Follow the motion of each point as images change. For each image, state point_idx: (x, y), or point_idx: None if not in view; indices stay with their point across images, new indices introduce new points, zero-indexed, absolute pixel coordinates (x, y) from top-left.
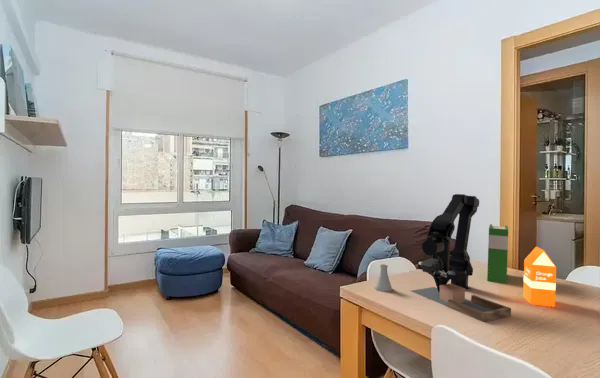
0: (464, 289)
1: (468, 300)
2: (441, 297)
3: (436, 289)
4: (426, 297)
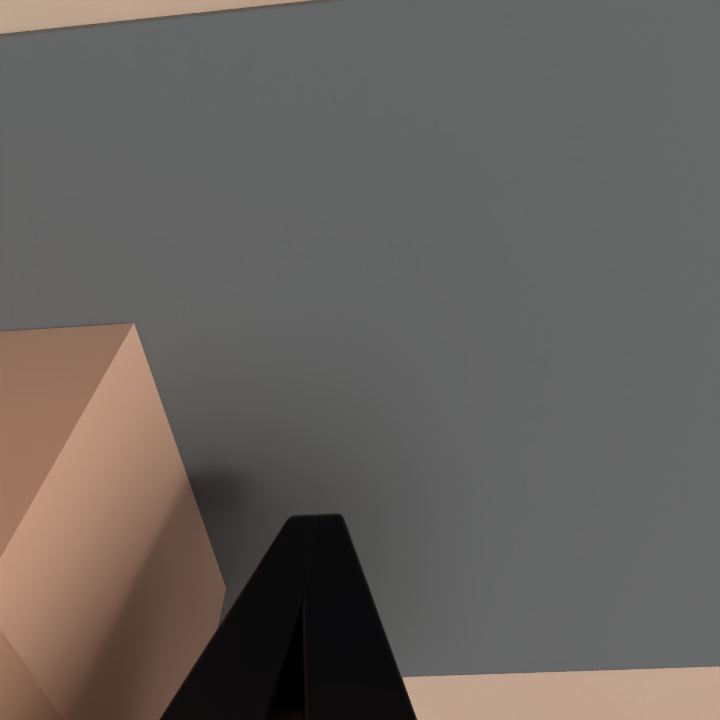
0: None
1: None
2: (38, 362)
3: (677, 627)
4: (332, 26)
